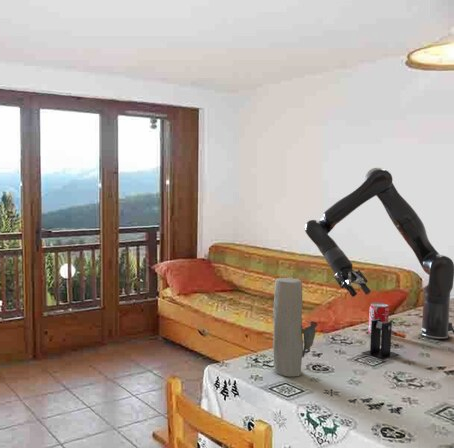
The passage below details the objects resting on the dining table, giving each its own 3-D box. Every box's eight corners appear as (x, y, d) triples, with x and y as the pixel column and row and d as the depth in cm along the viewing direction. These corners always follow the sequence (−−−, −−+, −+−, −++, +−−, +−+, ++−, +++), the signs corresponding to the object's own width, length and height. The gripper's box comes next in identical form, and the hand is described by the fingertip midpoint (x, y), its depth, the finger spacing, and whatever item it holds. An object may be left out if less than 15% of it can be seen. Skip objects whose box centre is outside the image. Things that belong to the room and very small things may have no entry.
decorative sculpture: (316, 370, 161) (319, 279, 159) (315, 381, 152) (318, 284, 150) (272, 365, 165) (275, 276, 163) (269, 375, 156) (272, 281, 154)
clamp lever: (386, 335, 183) (388, 329, 184) (404, 340, 178) (406, 333, 178) (369, 325, 177) (371, 319, 177) (387, 330, 171) (389, 323, 172)
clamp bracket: (377, 351, 182) (379, 316, 181) (398, 357, 175) (400, 321, 174) (361, 355, 176) (362, 320, 175) (382, 362, 170) (383, 325, 169)
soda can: (383, 334, 204) (385, 302, 203) (390, 339, 196) (391, 306, 195) (365, 333, 204) (367, 302, 203) (371, 338, 197) (373, 306, 196)
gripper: (332, 256, 194) (357, 290, 185) (354, 254, 201) (379, 287, 193) (320, 267, 198) (344, 301, 190) (343, 265, 206) (366, 298, 197)
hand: (362, 294), depth 191 cm, fingers open, 8 cm apart
